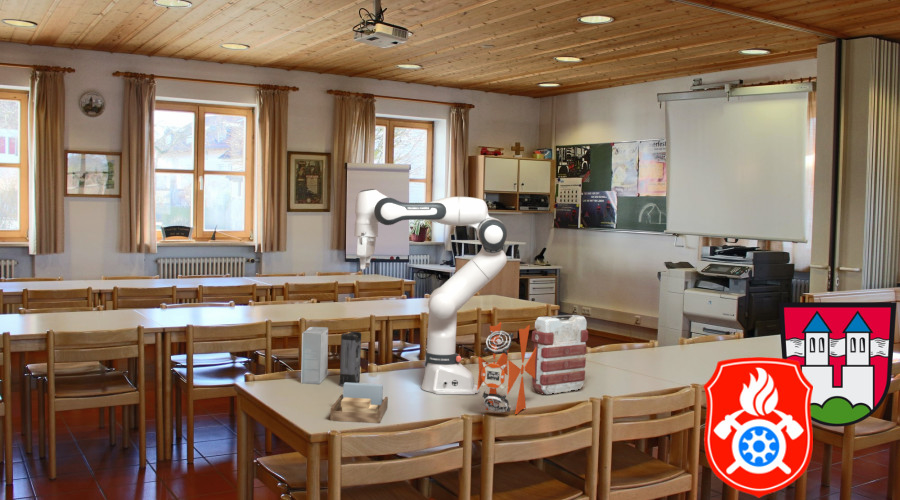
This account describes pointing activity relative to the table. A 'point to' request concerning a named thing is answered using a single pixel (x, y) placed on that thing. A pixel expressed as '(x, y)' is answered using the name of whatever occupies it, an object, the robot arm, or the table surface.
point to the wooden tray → (358, 413)
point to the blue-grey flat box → (364, 391)
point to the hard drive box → (314, 355)
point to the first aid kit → (559, 353)
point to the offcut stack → (358, 405)
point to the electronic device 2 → (504, 370)
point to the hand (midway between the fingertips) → (365, 268)
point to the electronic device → (350, 357)
